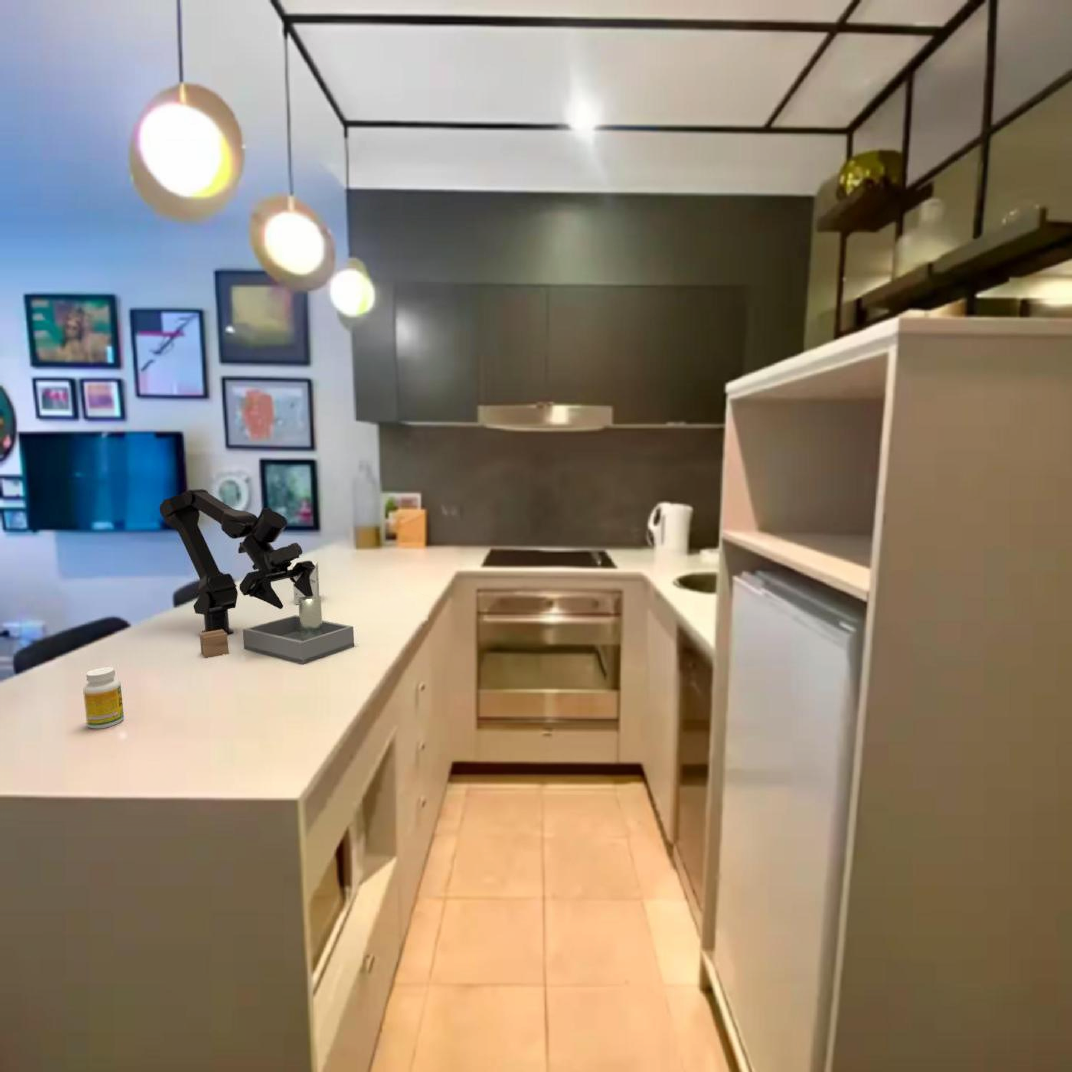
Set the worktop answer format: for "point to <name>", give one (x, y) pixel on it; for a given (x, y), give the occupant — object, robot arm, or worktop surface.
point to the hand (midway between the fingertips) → (297, 603)
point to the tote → (297, 640)
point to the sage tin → (310, 617)
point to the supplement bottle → (103, 698)
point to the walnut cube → (214, 643)
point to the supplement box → (313, 581)
